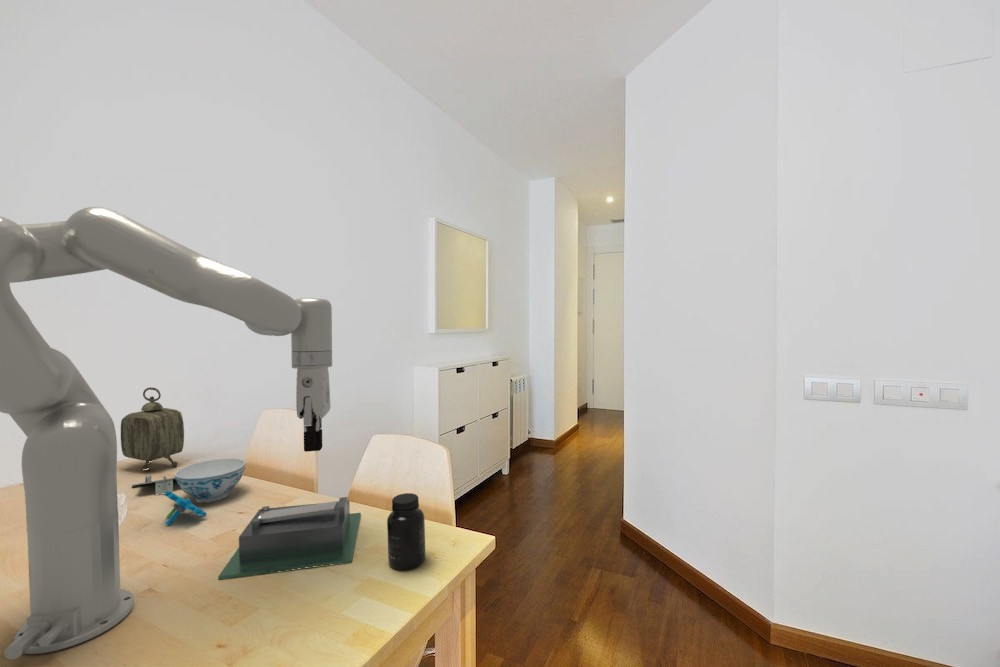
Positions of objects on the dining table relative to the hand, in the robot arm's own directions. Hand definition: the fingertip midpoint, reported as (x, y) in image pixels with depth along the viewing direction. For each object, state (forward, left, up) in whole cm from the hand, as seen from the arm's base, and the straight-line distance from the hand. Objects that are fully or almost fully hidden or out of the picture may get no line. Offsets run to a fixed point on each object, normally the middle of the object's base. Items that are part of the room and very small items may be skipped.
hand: (313, 449), depth 86 cm
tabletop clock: (+59, +57, -19) cm, 84 cm away
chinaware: (+30, +30, -19) cm, 47 cm away
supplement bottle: (-12, -18, -19) cm, 29 cm away
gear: (+18, +31, -19) cm, 40 cm away
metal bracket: (+42, +45, -20) cm, 65 cm away
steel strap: (0, +3, -13) cm, 13 cm away
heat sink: (0, +3, -19) cm, 19 cm away
